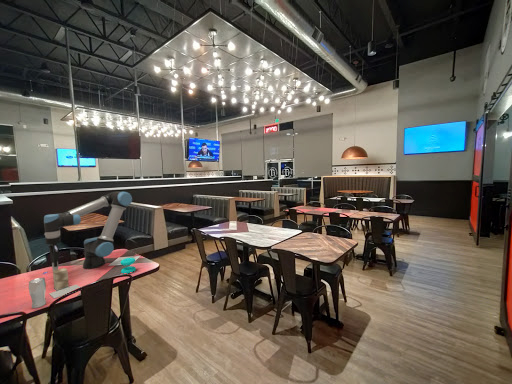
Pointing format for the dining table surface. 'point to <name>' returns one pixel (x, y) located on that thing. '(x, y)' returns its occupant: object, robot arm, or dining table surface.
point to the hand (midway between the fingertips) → (55, 270)
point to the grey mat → (63, 291)
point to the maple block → (60, 279)
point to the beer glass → (37, 292)
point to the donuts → (130, 268)
